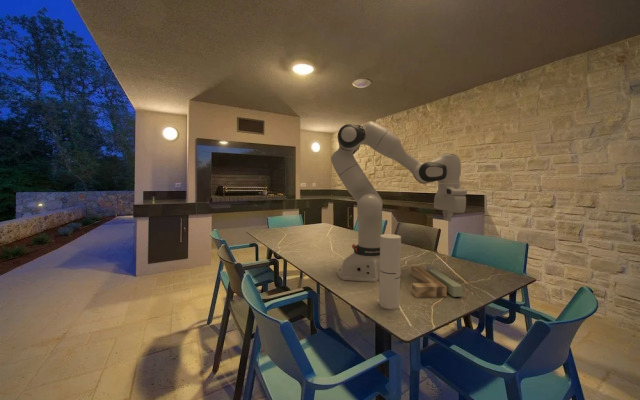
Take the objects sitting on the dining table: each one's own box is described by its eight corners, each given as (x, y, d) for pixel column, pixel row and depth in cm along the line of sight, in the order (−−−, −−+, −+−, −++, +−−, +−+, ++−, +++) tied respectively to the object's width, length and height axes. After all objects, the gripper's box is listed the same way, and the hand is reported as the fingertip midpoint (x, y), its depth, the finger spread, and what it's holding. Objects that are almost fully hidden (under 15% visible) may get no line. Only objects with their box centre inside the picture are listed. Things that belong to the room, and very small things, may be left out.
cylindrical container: (376, 300, 95) (377, 234, 93) (395, 299, 96) (396, 233, 94) (382, 309, 88) (384, 238, 86) (402, 308, 89) (404, 238, 87)
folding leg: (423, 275, 120) (424, 265, 119) (431, 275, 120) (431, 265, 120) (453, 297, 97) (453, 284, 97) (462, 297, 97) (462, 284, 97)
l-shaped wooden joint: (415, 297, 97) (416, 287, 97) (394, 274, 121) (395, 266, 121) (448, 296, 98) (448, 286, 98) (421, 274, 122) (421, 266, 122)
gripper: (430, 189, 125) (429, 217, 126) (454, 190, 104) (453, 224, 105) (443, 189, 125) (442, 217, 126) (469, 191, 105) (468, 224, 105)
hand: (447, 220), depth 115 cm, fingers closed
